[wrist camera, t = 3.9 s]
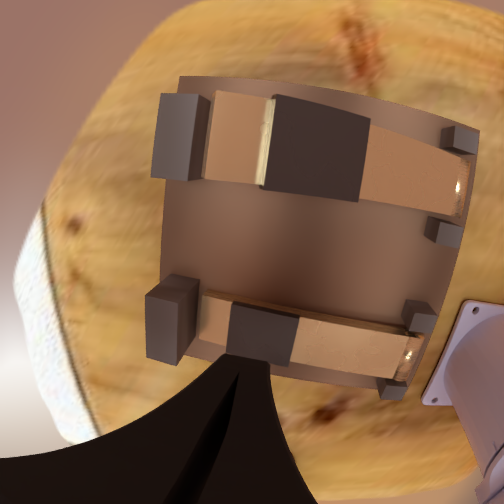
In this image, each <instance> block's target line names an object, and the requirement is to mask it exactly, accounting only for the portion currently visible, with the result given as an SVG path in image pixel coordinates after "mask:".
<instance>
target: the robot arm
mask: <svg viewBox="0 0 504 504" xmlns="http://www.w3.org/2000/svg"><path fill="white" fill-rule="evenodd" d="M475 307H477V308H476V310H475V311H474V312H472V311H473V309H474V308H475ZM270 366H271V365H270V364H269V363H268V362H267V361H262V360H257V359H252V358H246V357H241V356H236V355H232V354H227V353H224V354H222V355H221V356H220V357H219V358H218V359H217V360H216V361H215V362H214V363H213V364H212V365H211V366H210V367H209V368H207V369H206V370H205V371H204V372H203V373H202V374H201V375H200V376H199V377H197V378H196V379H195V380H194V381H193V382H191V383H190V384H189V385H188V386H186V387H185V388H184V389H183V390H181V391H180V392H179V393H177V394H176V395H175V396H173V397H172V398H170V399H169V400H167V401H166V402H165V403H163V404H162V405H160V406H159V407H157V408H156V409H154V410H152V411H151V412H149V413H147V414H146V415H144V416H142V417H141V418H139V419H137V420H135V421H133V422H131V423H129V424H127V425H125V426H123V427H121V428H119V429H117V430H114V431H112V432H110V433H108V434H105V435H103V436H100V437H98V438H95V439H93V440H90V441H87V442H84V443H80V444H77V445H74V446H70V447H66V448H63V449H59V450H56V451H51V452H47V453H41V454H35V455H28V456H20V457H11V458H0V504H318V503H317V502H316V500H315V499H314V497H313V495H312V494H311V492H310V491H309V489H308V487H307V485H306V483H305V482H304V480H303V478H302V476H301V474H300V472H299V470H298V468H297V466H296V463H295V461H294V459H293V457H292V455H291V452H290V450H289V447H288V445H287V442H286V439H285V437H284V434H283V431H282V428H281V425H280V422H279V418H278V415H277V411H276V407H275V403H274V398H273V394H272V387H271V380H270ZM434 398H435V399H434ZM432 399H433V400H432ZM421 401H422V403H423V404H424V405H451V406H453V407H454V409H455V411H456V413H457V415H458V418H459V420H460V422H461V424H462V426H463V429H464V431H465V433H466V436H467V438H468V440H469V443H470V445H471V448H472V450H473V452H474V455H475V457H476V460H477V462H478V465H479V468H480V470H481V473H482V475H483V478H484V480H483V481H482V482H481V484H480V485H479V486H478V487H476V489H475V492H476V495H477V498H478V501H479V504H504V305H498V304H492V303H486V302H480V301H474V300H467V301H465V302H464V303H463V304H462V306H461V309H460V312H459V315H458V317H457V320H456V322H455V325H454V328H453V330H452V333H451V335H450V338H449V340H448V342H447V345H446V347H445V349H444V352H443V354H442V356H441V358H440V361H439V363H438V365H437V367H436V369H435V371H434V374H433V376H432V378H431V380H430V382H429V384H428V386H427V388H426V390H425V392H424V394H423V396H422V398H421Z"/></svg>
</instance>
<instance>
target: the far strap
mask: <svg viewBox="0 0 504 504" xmlns="http://www.w3.org/2000/svg"><path fill="white" fill-rule="evenodd" d="M199 339H201V340H205V341H208V342H212V343H216V344H219V345H223V346H226V352H225V353H228V354H232V355H236V356H241V357H246V358H252V359H257V360H262V361H267V362H268V363H270V364H274V365H279V366H283V367H288V366H289V362H290V361H291V362H296V363H301V364H306V365H311V366H316V367H322V368H327V369H333V370H338V371H344V372H350V373H356V374H363V375H369V376H376V377H383V378H390V379H393V380H396V381H400V382H402V381H406V380H407V378H408V376H409V374H410V372H411V370H412V367H413V365H414V363H415V361H416V358H417V356H418V353H419V351H420V349H421V346H422V344H423V341H424V339H425V335H424V334H423V333H421V332H414V331H408V329H407V328H400V327H394V326H388V325H382V324H376V323H371V322H365V321H360V320H354V319H349V318H343V317H338V316H333V315H328V314H323V313H317V312H312V311H307V310H302V309H298V308H293V307H288V306H283V305H278V304H274V303H269V302H264V301H260V300H255V299H251V298H246V297H242V296H237V295H233V294H228V293H224V292H220V291H215V290H211V289H208V290H207V291H206V292H205V293H204V294H203V295H202V303H201V316H200V330H199Z"/></svg>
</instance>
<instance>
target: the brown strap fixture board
mask: <svg viewBox="0 0 504 504" xmlns="http://www.w3.org/2000/svg"><path fill="white" fill-rule="evenodd" d="M216 90H219V91H226V92H233V93H239V94H246V95H251V96H257V97H263V98H268V99H271V98H272V95H275V94H281V95H285V96H290V97H294V98H299V99H303V100H307V101H311V102H315V103H319V104H323V105H327V106H331V107H334V108H338V109H341V110H345V111H348V112H352V113H355V114H358V115H362V116H365V117H368V118H371V122H370V124H371V125H375V126H378V127H381V128H384V129H387V130H390V131H393V132H396V133H399V134H401V135H404V136H407V137H410V138H413V139H415V140H418V141H421V142H423V143H426V144H428V145H431V146H434V147H436V148H439V149H441V150H443V151H446V152H448V153H451V154H453V155H455V156H458V157H460V158H463V159H466V160H468V161H470V162H471V164H470V171H469V178H468V184H467V190H466V196H465V201H464V206H463V211H462V216H461V218H458V217H454V216H450V215H445V214H441V213H436V212H431V211H426V210H421V209H416V208H411V207H405V206H400V205H395V204H389V203H383V202H378V201H372V200H366V199H360V198H359V201H358V203H357V202H350V201H343V200H337V199H330V198H322V197H315V196H307V195H300V194H292V193H283V192H275V191H266V190H262V189H259V185H258V184H249V183H240V182H230V181H219V180H208V179H204V178H202V177H201V173H202V165H203V157H204V149H205V141H206V133H207V126H208V119H209V112H210V105H211V98H212V94H213V93H214V92H215V91H216ZM479 134H480V130H477V129H474V128H472V127H469V126H466V125H464V124H461V123H458V122H455V121H452V120H450V119H447V118H444V117H441V116H438V115H434V114H431V113H428V112H425V111H421V110H418V109H415V108H411V107H408V106H404V105H400V104H396V103H393V102H389V101H385V100H381V99H376V98H372V97H368V96H363V95H359V94H354V93H349V92H344V91H339V90H333V89H327V88H322V87H315V86H309V85H302V84H295V83H287V82H278V81H269V80H259V79H247V78H232V77H210V76H180V78H179V84H178V90H177V93H161V96H160V103H159V109H158V116H157V124H156V131H155V140H154V148H153V157H152V167H151V177H153V178H163V179H166V186H165V198H164V210H163V224H162V240H161V260H160V283H159V284H158V285H157V286H155V287H154V288H153V289H152V290H151V291H150V292H148V293H147V294H146V295H145V330H146V357H147V358H150V359H154V360H157V361H160V362H164V363H167V364H171V365H174V366H177V365H178V363H179V361H180V360H181V358H182V357H183V355H187V356H191V357H195V358H199V359H203V360H207V361H211V362H215V361H216V360H217V359H218V358H219V357H220V356H221V355H222V354H224V353H225V352H226V346H223V345H219V344H216V343H212V342H208V341H205V340H201V339H199V330H200V316H201V303H202V295H203V294H204V293H205V292H206V291H207V290H208V289H211V290H215V291H220V292H224V293H228V294H233V295H237V296H242V297H246V298H251V299H255V300H260V301H264V302H269V303H274V304H278V305H283V306H288V307H293V308H298V309H302V310H307V311H312V312H317V313H323V314H328V315H333V316H338V317H343V318H349V319H354V320H360V321H365V322H371V323H376V324H382V325H388V326H394V327H400V328H407V329H408V331H414V332H421V333H423V334H424V335H425V339H424V341H423V344H422V346H421V349H420V351H419V353H418V356H417V358H416V361H415V363H414V365H413V367H412V370H411V372H410V374H409V376H408V378H407V380H406V381H402V382H400V381H396V380H393V379H390V378H383V377H376V376H369V375H363V374H356V373H350V372H344V371H338V370H333V369H327V368H322V367H316V366H311V365H306V364H301V363H296V362H291V361H290V362H289V366H288V367H283V366H279V365H274V364H270V363H269V364H270V365H271V366H270V374H272V375H277V376H283V377H288V378H294V379H300V380H307V381H313V382H320V383H327V384H334V385H342V386H350V387H359V388H368V389H378V392H379V396H380V399H386V400H402V398H403V396H404V394H405V392H406V391H407V389H408V387H409V385H410V383H411V381H412V379H413V377H414V375H415V372H416V370H417V368H418V366H419V364H420V361H421V359H422V357H423V354H424V352H425V350H426V347H427V345H428V342H429V340H430V337H431V335H432V332H433V330H434V327H435V324H436V322H437V319H438V316H439V313H440V311H441V308H442V305H443V302H444V299H445V296H446V293H447V290H448V287H449V284H450V280H451V277H452V274H453V270H454V267H455V263H456V260H457V256H458V252H459V249H460V245H461V241H462V237H463V232H464V228H465V224H466V219H467V214H468V210H469V204H470V199H471V194H472V188H473V182H474V176H475V169H476V161H477V153H478V144H479ZM227 354H228V353H227Z"/></svg>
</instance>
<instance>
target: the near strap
mask: <svg viewBox="0 0 504 504" xmlns="http://www.w3.org/2000/svg"><path fill="white" fill-rule="evenodd" d="M370 122H371V118H368V117H365V116H362V115H358V114H355V113H352V112H348V111H345V110H341V109H338V108H334V107H331V106H327V105H323V104H319V103H315V102H311V101H307V100H303V99H299V98H294V97H290V96H285V95H281V94H275V95H272V98H271V99H268V98H263V97H257V96H251V95H246V94H239V93H233V92H226V91H219V90H216V91H215V92H214V93H213V94H212V98H211V105H210V112H209V119H208V126H207V133H206V141H205V149H204V157H203V165H202V173H201V177H202V178H204V179H208V180H219V181H230V182H240V183H249V184H258V185H259V189H262V190H266V191H275V192H283V193H292V194H300V195H307V196H315V197H322V198H330V199H337V200H343V201H350V202H357V203H358V201H359V198H360V199H366V200H372V201H378V202H383V203H389V204H395V205H400V206H405V207H411V208H416V209H421V210H426V211H431V212H436V213H441V214H445V215H450V216H454V217H458V218H461V216H462V211H463V206H464V201H465V196H466V190H467V184H468V178H469V171H470V164H471V162H470V161H468V160H466V159H463V158H460V157H458V156H455V155H453V154H451V153H448V152H446V151H443V150H441V149H439V148H436V147H434V146H431V145H428V144H426V143H423V142H421V141H418V140H415V139H413V138H410V137H407V136H404V135H401V134H399V133H396V132H393V131H390V130H387V129H384V128H381V127H378V126H375V125H371V124H370Z"/></svg>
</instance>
